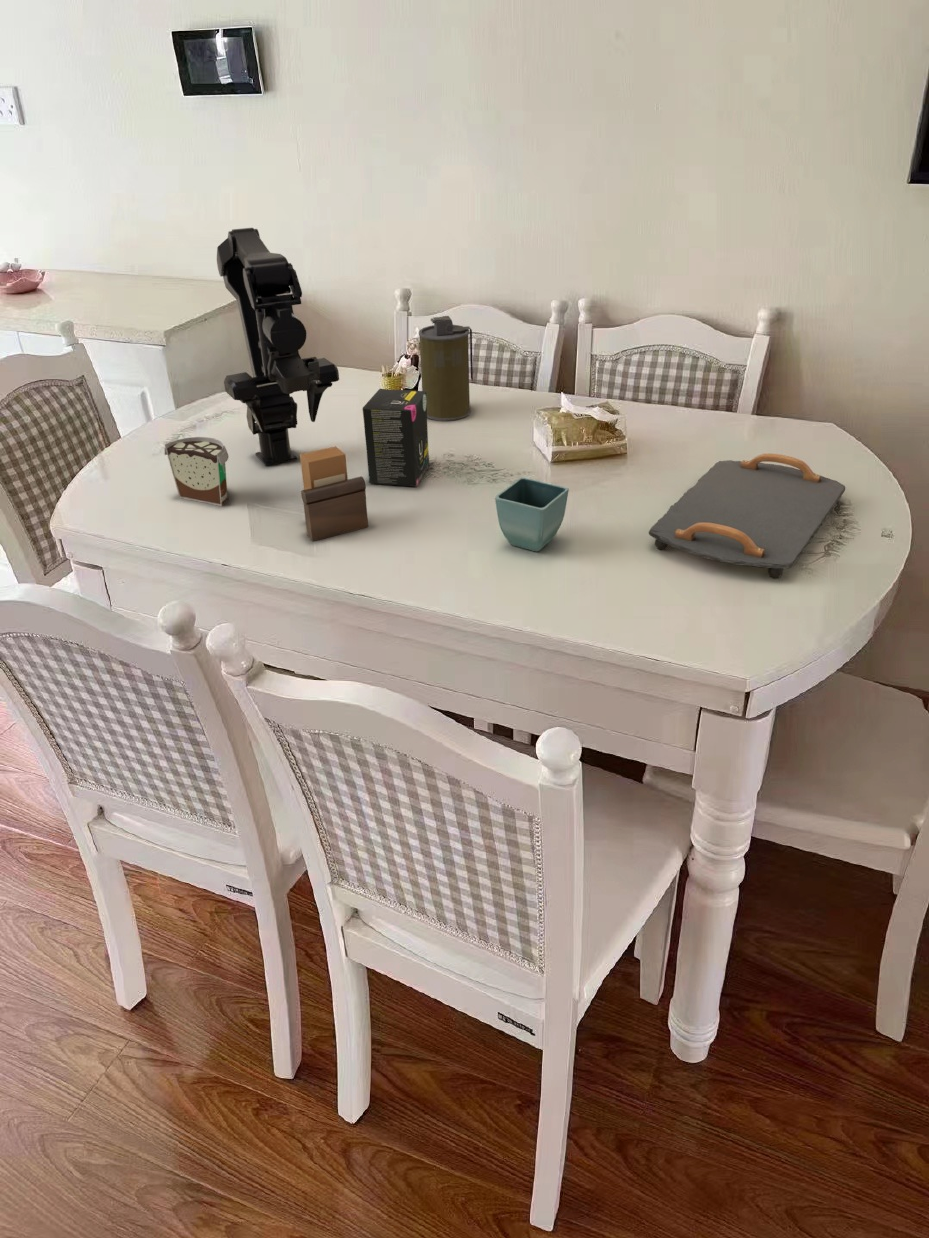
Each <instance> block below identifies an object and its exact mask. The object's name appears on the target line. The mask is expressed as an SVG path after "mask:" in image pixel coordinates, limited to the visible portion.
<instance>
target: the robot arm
mask: <svg viewBox="0 0 929 1238" xmlns="http://www.w3.org/2000/svg"><path fill="white" fill-rule="evenodd" d="M216 266H217V270H218V274H219V277H221V278H222V279H223V283H224V287H225V289H226V290H227V291H228V292H229V293H230V294H231V296H232V297H233V298H234V299H235V300H236V301H237V306H238V311H239V316H240V321H241V325H242V326H241V327H242V330H243V336H244V340H245V345H246V350H247V354H248V359H249V364H250V369H251V373H252V376H251V375H250V374H249V373H248V372H247V371H246V372H245V371H243V372H239V373H233V374H229V375H227V374H226V376H225V378H224V380H223V385H224V392H225V393H227V395H228V396H229V397H231V398H232V399H233V400H234V401H239V402H241V403H242V404H245V405H246V421H247V426H248V428H249V430H250V432H251V434H252V435H253V436H254V435H258V444H259V451H257V452H255V457H256V458H257V459H258V460H259V461H260V462H261V463H262V464H263V465H264V466H266V467H270V466H273V465H278V464H282V463H287V462H292V461H295V460H298V455H296V454H295V453H294V451H292V450H291V443H290V436H289V429H297V425H298V403H297V402H295V400H294V397H293V396H291V394H293V393H296V392H302V391H303V392H306V399H307V407H308V414H309V419H310V421H311V422H312V423H315V422H316V420H317V415H318V411H319V408H320V403H321V400H322V397H323V394H324V393H325V391H326V390H327V389H329V388H331V387H332V386H333V383H336V382H338V381H340V373H339V369H338V366H337V365H336V364H334V363H333V362H332V361H330V360H329V359H327V358H326V357H321V358H317V356H312V357H306V358H302V356H301V355H300V353H299V350H301V349H302V348H303V347H304V345H305V343H306V341H307V329H306V327H305V325H304V323H303V322H302V321H301V320H300V319H299V318H298V317H297V316H296V315H295V313H294V309H293V306H298V305H302V299H301V298H302V296H303V291H302V287H301V284H300V281H299V278H298V277H299V276H298V274H297V271H296V270H295V268H294V267H293V266H294V265H293V264H292V263H291V262H289V260H288V259H287V257H285V256H284V255H283V254H281V253H277V252H270V250H269V249H268V247H267V246H266V245H265V243H264V241H263V240H262V238H261V236H260V233H259V230H258V228H254V227H243V228H233V229H232V230H229V231H228V232H227V238H226V239H224V240H223V241H222V242H221V243H220V244H219V245H218V246H217V248H216Z"/></svg>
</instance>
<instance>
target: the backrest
mask: <svg viewBox="0 0 929 1238" xmlns="http://www.w3.org/2000/svg"><path fill="white" fill-rule="evenodd" d="M365 480H366V479H365V478H364V477H363V476H355V477H353V478H349V479H348V480H344V481H340V482H335V483H331V484H327V485H323V486H319V487H314V488H310V489H306V490H304V489H302V490H301V491H300V496H301V497H300V498H301V500H302V501H301V502H302V505H303V512H304V521H305V528H306V535H307V537H308V538H309V539H310V541H312V542H316V541H320V540H324V539H327V538H331V537H335V536H338V535H343V534H346V533H350V532H354V531H358V530H361V529H365V528H368V527H369V518H368V508H367V506H368V505H367V497H366V490H367V483H366V481H365Z"/></svg>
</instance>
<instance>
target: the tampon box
mask: <svg viewBox="0 0 929 1238" xmlns="http://www.w3.org/2000/svg"><path fill="white" fill-rule="evenodd" d="M362 416H363V427H364V436H365V449H366V460H367V461H366V462H367V472H368V473H367V474H368V483H369V484H373V485H375V484H376V485H389V486H402V487H418V486H419V483H420V482H421V480H422V478H423V477H424V475H425V473H426V471H427V470H428V468H429V467H430V457H429V436H428V435H429V434H428V433H429V432H428V418H427V397H426V391H422V390H410V389H390V388H389V389H387V388H379V389H377V391H376V392H375V393H374V394H373V395H372V397H370V399H369V400H368V401H367V402H366V403H365V405H363V407H362Z"/></svg>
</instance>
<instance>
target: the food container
mask: <svg viewBox="0 0 929 1238" xmlns="http://www.w3.org/2000/svg"><path fill="white" fill-rule="evenodd" d="M163 451H164V452H163V453H164V456H167V459H168V462H169V466H170V470H171V473H172V477H173V480H174V482H175V483H174V484H175V487H176V491H177V494H178V498H179V499H185V500H187V501H188V500H189V501H193V502H194V501H195V502H199V503H204V504H208V505H214V506H218V507H223V506H224V505H225V504H226V503H227V501H228V500H229V498H228V484H227V467H226V463H227V461H228V460H229V456H230V455H229V452H228V450H227V448H226V446H225V445H224V443H223V442H222V441H221V440H219V439H216V438H214V437H207V436H191V437H185V438H184V437H183V438H179V439H176V440H172V441H170V442H167V443H165V444H164V448H163Z"/></svg>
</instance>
